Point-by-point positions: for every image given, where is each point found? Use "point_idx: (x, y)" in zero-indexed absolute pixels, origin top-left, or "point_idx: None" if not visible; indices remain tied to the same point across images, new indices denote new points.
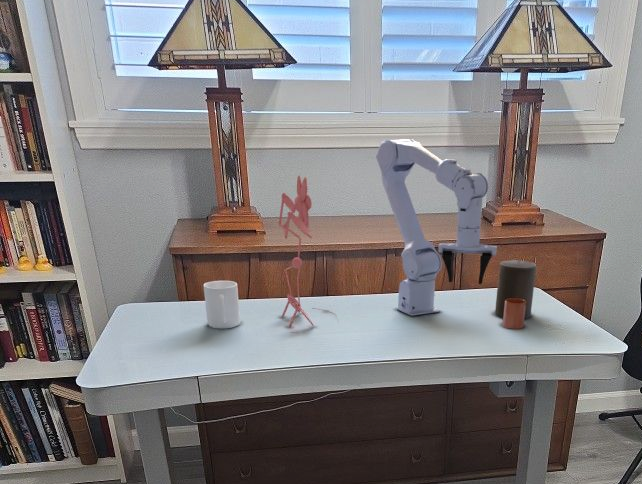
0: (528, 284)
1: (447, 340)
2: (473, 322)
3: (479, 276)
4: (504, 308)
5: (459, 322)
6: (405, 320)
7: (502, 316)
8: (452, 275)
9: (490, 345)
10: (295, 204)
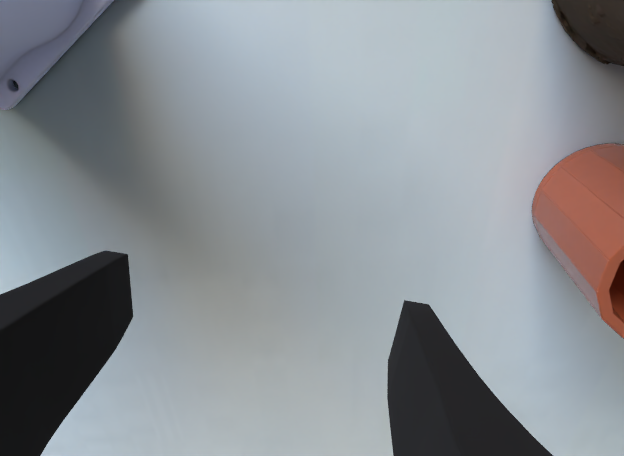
0: None
1: (258, 408)
2: (367, 167)
3: (394, 436)
4: (572, 265)
5: (289, 178)
6: (14, 183)
7: (579, 42)
8: (97, 305)
9: None
10: None
